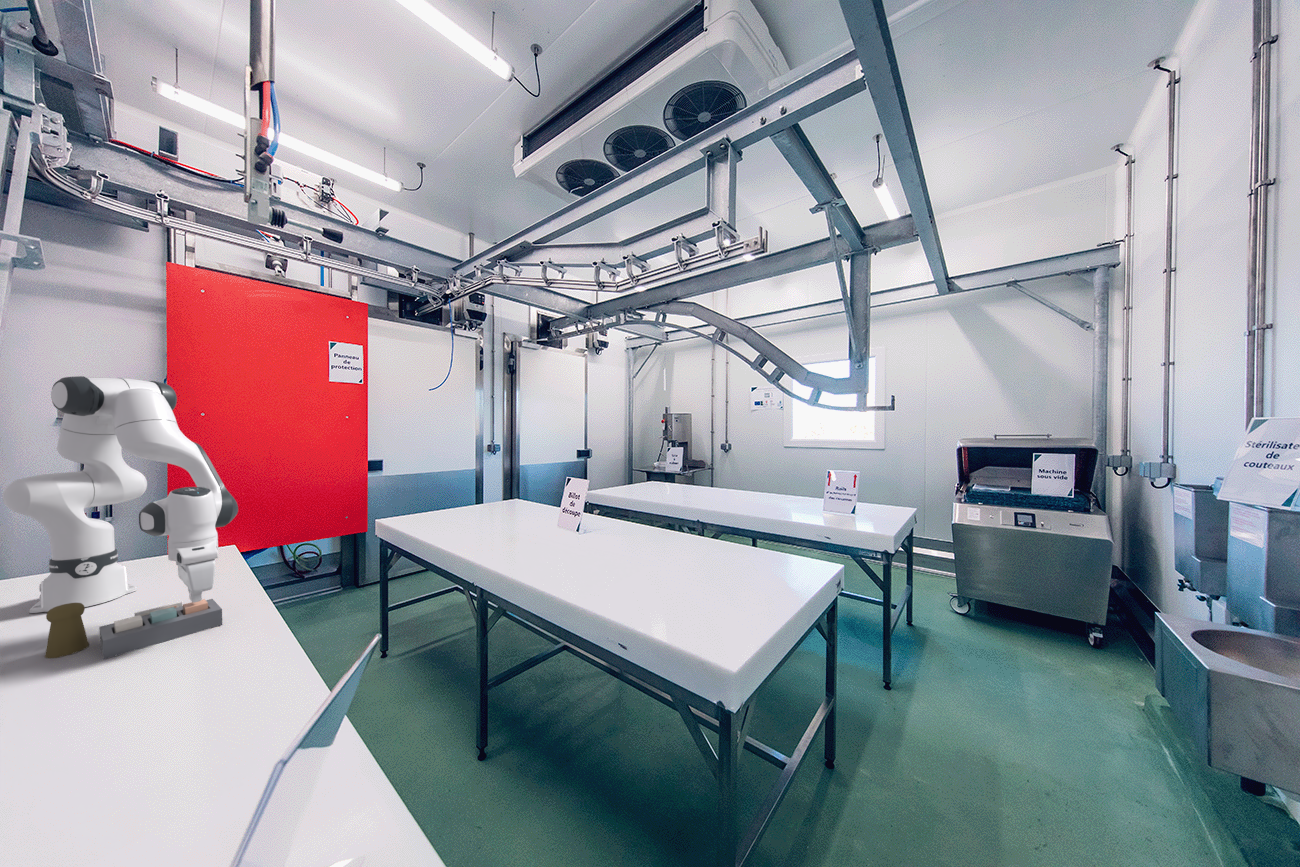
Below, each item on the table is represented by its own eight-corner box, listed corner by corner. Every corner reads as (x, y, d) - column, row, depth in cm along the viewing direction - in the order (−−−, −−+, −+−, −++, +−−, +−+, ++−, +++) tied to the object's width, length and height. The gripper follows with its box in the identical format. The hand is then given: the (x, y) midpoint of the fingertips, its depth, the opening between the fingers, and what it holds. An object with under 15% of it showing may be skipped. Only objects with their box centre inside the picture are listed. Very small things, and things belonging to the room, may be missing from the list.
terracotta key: (182, 615, 108) (182, 604, 108) (204, 609, 111) (204, 599, 111) (185, 619, 106) (185, 608, 106) (208, 613, 109) (207, 602, 109)
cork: (55, 659, 93) (53, 612, 92) (37, 656, 94) (35, 609, 94) (96, 645, 99) (94, 600, 98) (78, 642, 100) (76, 598, 100)
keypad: (99, 641, 100) (98, 621, 100) (211, 611, 116) (210, 594, 116) (103, 659, 93) (102, 637, 93) (222, 624, 109) (221, 606, 109)
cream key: (114, 633, 99) (113, 621, 99) (140, 626, 102) (140, 614, 102) (116, 638, 97) (115, 626, 97) (142, 631, 100) (142, 619, 100)
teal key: (150, 624, 103) (149, 612, 103) (174, 617, 107) (173, 606, 107) (152, 628, 101) (152, 617, 101) (177, 622, 105) (176, 610, 104)
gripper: (168, 545, 111) (170, 595, 112) (183, 559, 100) (185, 615, 100) (202, 539, 116) (204, 587, 117) (220, 552, 105) (221, 605, 105)
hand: (195, 600), depth 108 cm, fingers closed
